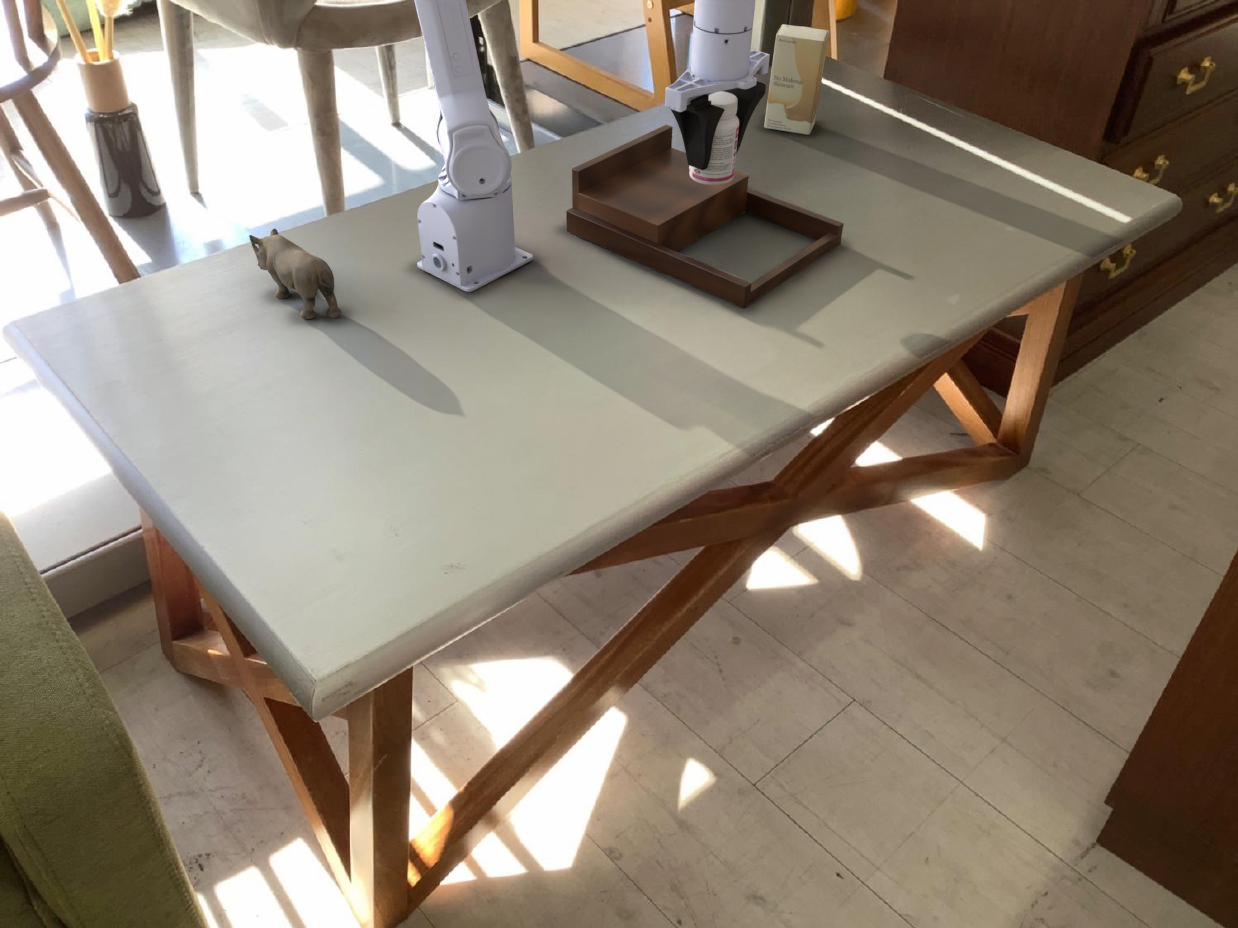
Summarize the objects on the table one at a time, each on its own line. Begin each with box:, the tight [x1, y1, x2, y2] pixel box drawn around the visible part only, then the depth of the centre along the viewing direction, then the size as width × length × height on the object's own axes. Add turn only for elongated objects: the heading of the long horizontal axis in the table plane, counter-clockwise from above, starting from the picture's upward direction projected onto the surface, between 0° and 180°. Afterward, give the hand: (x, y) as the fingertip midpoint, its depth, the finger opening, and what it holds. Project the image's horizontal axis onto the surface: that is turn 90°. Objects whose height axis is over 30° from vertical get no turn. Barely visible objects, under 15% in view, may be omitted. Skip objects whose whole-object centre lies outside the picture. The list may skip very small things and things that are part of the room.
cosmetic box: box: [763, 23, 830, 136], centre depth 141 cm, size 6×4×12 cm
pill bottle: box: [689, 91, 739, 185], centre depth 113 cm, size 5×5×8 cm
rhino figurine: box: [248, 227, 342, 320], centre depth 109 cm, size 4×14×6 cm, turn 43°
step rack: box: [565, 124, 844, 309], centre depth 119 cm, size 18×24×7 cm
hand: (712, 158), depth 115 cm, fingers closed on pill bottle, 5 cm apart
